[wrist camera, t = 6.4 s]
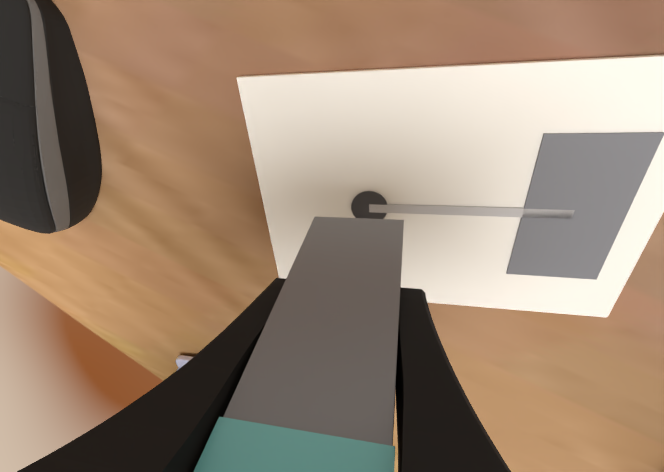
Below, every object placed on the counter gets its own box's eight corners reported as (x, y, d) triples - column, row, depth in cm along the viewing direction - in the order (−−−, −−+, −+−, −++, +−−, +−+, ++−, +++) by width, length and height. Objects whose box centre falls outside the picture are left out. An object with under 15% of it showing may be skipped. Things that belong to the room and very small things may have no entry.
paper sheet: (283, 286, 20) (281, 291, 19) (239, 76, 13) (235, 78, 13) (604, 312, 16) (608, 319, 16) (740, 50, 10) (751, 52, 10)
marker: (321, 283, 14) (213, 613, 6) (313, 215, 12) (149, 564, 5) (401, 289, 13) (384, 665, 6) (405, 218, 11) (387, 631, 4)
